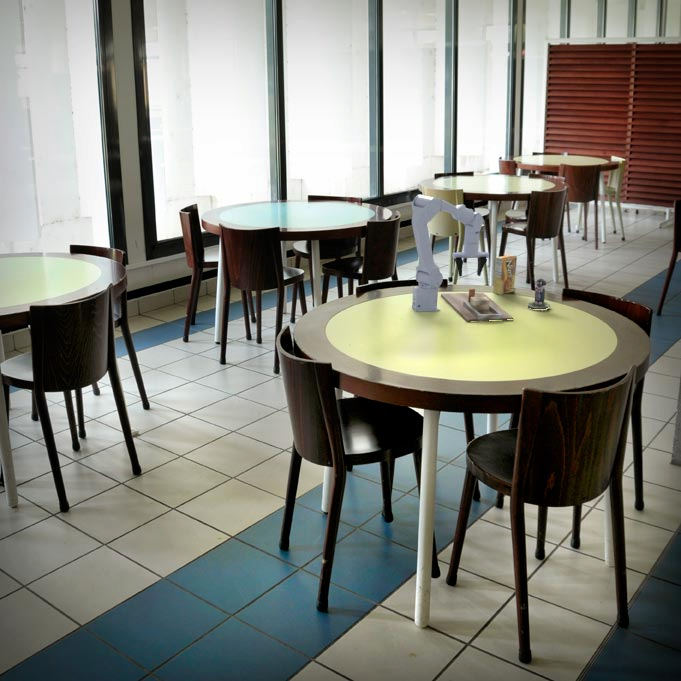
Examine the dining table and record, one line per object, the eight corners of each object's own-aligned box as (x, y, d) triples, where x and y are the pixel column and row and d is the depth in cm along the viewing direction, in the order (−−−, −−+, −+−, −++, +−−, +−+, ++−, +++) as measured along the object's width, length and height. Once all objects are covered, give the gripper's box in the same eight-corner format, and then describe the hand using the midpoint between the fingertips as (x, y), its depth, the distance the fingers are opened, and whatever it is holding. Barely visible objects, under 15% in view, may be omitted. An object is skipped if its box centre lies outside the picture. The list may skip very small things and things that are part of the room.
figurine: (526, 304, 337) (529, 275, 333) (548, 305, 336) (551, 276, 332) (528, 310, 329) (531, 280, 325) (551, 311, 328) (554, 281, 324)
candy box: (506, 289, 358) (509, 254, 353) (514, 291, 355) (517, 256, 350) (492, 292, 353) (495, 257, 348) (500, 295, 350) (503, 258, 345)
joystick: (473, 310, 323) (474, 298, 322) (463, 300, 337) (463, 288, 335) (489, 310, 324) (489, 297, 323) (477, 300, 338) (478, 288, 336)
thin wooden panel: (467, 322, 313) (467, 315, 312) (440, 296, 347) (441, 290, 346) (513, 320, 316) (513, 314, 315) (482, 294, 349) (483, 289, 349)
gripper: (486, 239, 338) (484, 272, 342) (451, 240, 336) (449, 273, 340) (491, 243, 331) (489, 277, 336) (455, 244, 329) (453, 277, 334)
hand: (469, 275), depth 337 cm, fingers open, 7 cm apart
